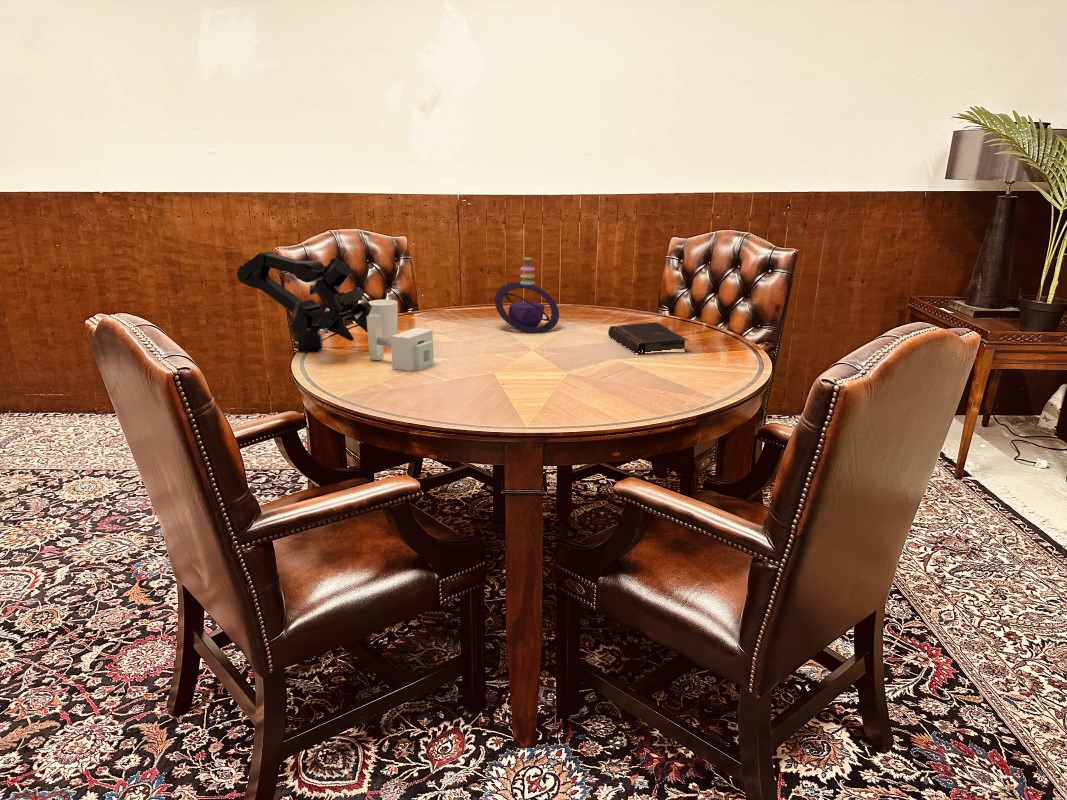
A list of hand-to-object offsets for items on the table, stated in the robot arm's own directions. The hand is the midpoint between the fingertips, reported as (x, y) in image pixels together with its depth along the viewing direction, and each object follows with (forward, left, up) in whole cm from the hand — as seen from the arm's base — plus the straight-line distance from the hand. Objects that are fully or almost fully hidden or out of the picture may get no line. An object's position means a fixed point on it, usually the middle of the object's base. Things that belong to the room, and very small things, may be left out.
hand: (362, 337), depth 215 cm
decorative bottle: (+52, +40, -7) cm, 66 cm away
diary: (+90, +14, -7) cm, 91 cm away
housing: (+15, -9, -6) cm, 19 cm away
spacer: (+19, -11, -6) cm, 23 cm away
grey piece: (+9, -5, -6) cm, 12 cm away
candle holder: (+3, +27, -7) cm, 28 cm away
